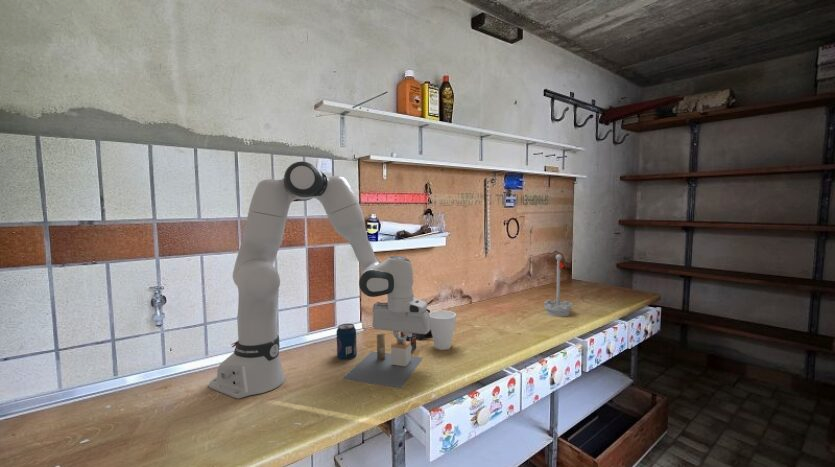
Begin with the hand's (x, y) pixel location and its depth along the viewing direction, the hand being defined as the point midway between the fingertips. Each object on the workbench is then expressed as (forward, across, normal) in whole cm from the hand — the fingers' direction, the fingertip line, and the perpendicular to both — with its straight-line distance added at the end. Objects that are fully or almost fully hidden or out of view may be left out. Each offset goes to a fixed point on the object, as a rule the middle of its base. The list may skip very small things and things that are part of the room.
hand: (401, 343), depth 121 cm
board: (+8, -4, -5) cm, 10 cm away
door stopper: (+8, -1, +29) cm, 30 cm away
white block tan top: (+7, 0, 0) cm, 7 cm away
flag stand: (+8, +55, +78) cm, 96 cm away
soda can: (+8, -21, 0) cm, 23 cm away
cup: (+8, +10, +18) cm, 22 cm away
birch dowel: (+7, -8, +1) cm, 11 cm away
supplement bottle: (+8, -2, +13) cm, 15 cm away
